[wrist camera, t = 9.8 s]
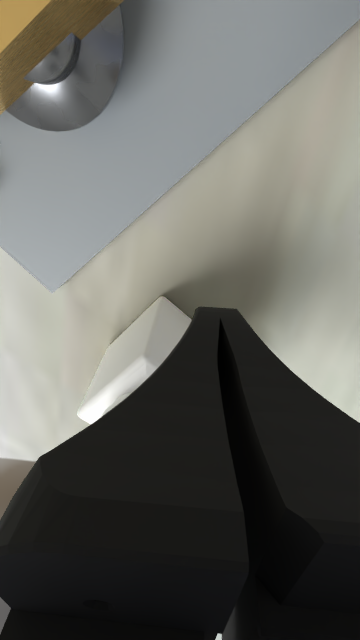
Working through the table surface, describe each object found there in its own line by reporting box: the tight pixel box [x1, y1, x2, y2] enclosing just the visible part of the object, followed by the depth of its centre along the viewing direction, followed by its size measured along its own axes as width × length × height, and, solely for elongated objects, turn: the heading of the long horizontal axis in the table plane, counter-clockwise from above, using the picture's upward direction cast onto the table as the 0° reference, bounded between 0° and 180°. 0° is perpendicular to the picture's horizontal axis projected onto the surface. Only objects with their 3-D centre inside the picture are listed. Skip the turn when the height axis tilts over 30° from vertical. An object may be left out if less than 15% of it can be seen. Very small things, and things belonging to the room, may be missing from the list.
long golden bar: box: [0, 0, 125, 132], centre depth 10 cm, size 7×13×4 cm, turn 120°
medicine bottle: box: [77, 296, 192, 424], centre depth 18 cm, size 7×7×12 cm
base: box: [0, 0, 360, 293], centre depth 13 cm, size 22×16×2 cm
